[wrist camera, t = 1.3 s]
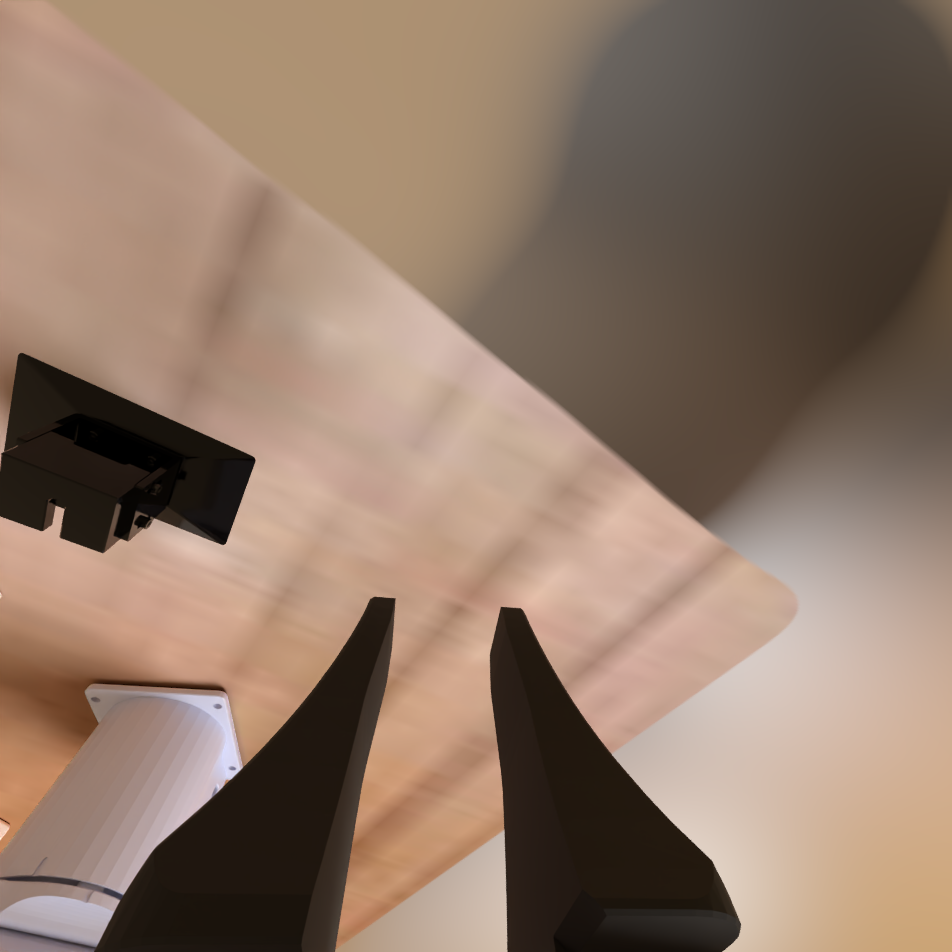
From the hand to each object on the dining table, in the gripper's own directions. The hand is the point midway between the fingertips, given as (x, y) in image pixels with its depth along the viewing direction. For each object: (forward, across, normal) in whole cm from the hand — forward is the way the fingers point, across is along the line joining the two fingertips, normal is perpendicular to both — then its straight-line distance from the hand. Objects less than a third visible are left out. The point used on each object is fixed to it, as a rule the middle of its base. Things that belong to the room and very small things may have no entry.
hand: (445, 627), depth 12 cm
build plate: (+9, +14, 0) cm, 17 cm away
